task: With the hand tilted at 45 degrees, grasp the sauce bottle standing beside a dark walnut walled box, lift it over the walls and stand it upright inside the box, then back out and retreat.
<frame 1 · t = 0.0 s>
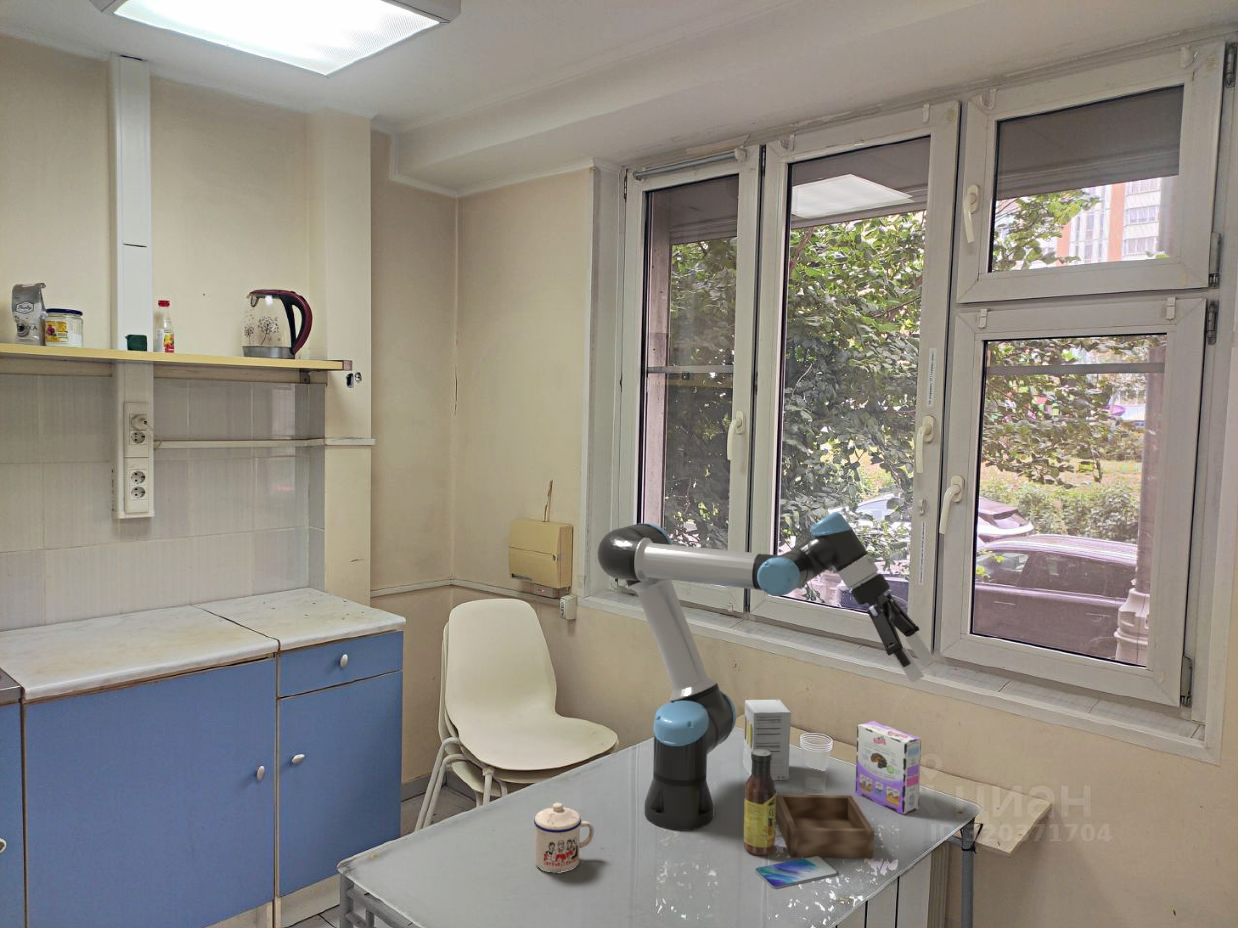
hand: (923, 670, 182), 36 cm above the table, tool tilted 35°, fingers open, 13 cm apart
supplement box: (765, 773, 218), on the table
smartphone: (796, 875, 171), on the table
sauce bottle: (758, 849, 180), on the table
candy box: (886, 801, 203), on the table
walled box: (822, 837, 185), on the table
teacup with lid: (564, 862, 173), on the table
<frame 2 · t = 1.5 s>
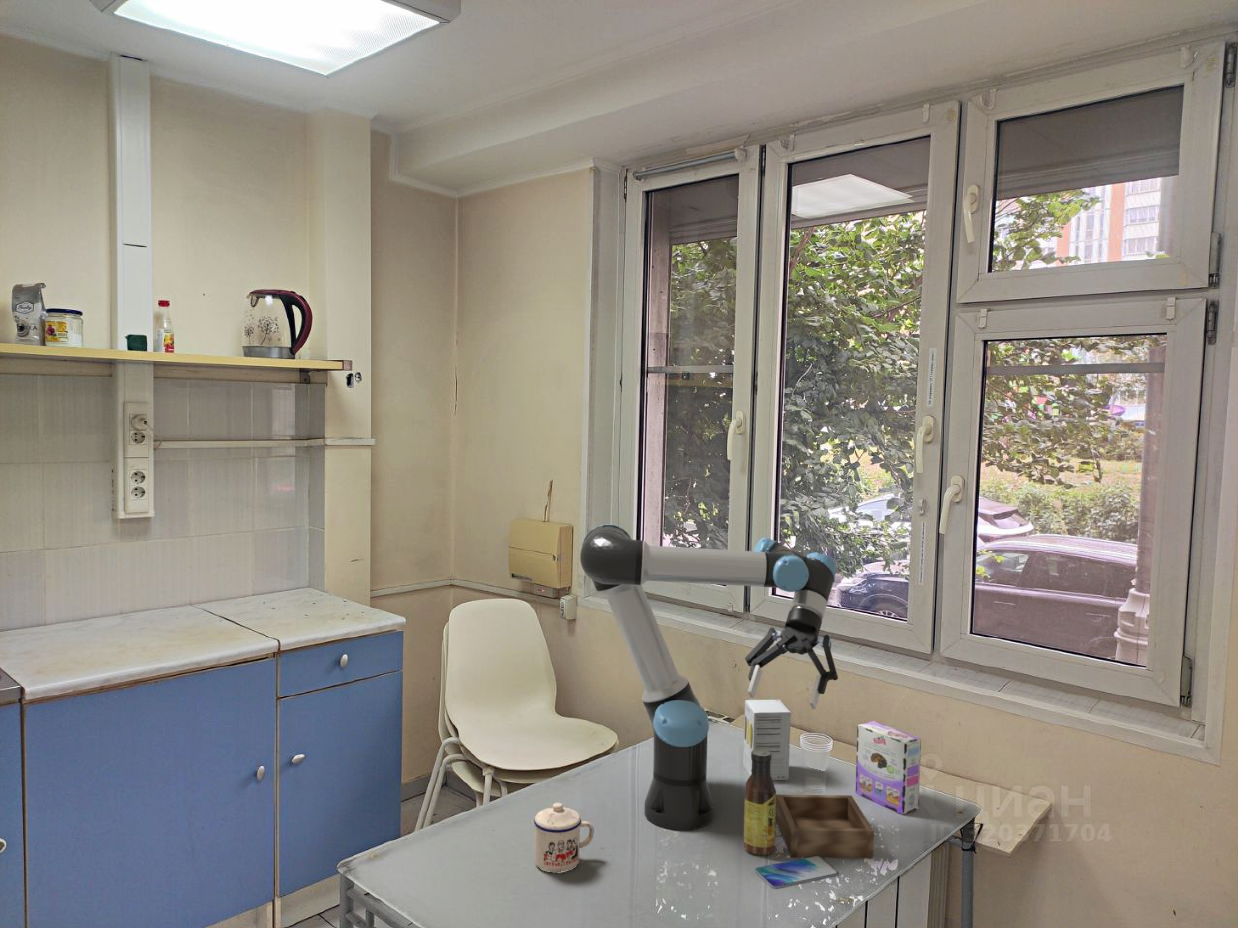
hand: (780, 700, 187), 28 cm above the table, tool tilted 45°, fingers open, 13 cm apart
nothing on the table moved.
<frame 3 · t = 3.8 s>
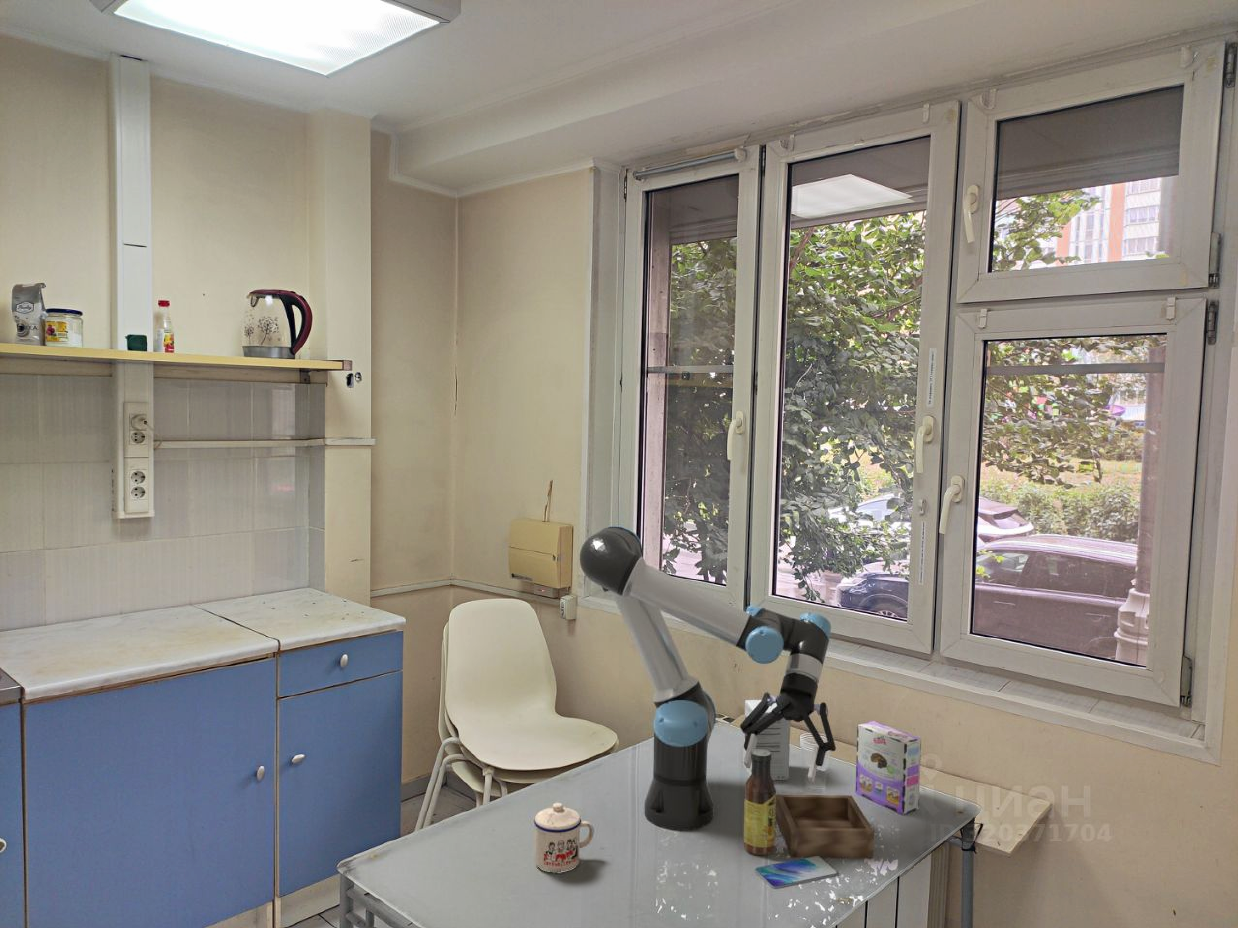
hand: (778, 772, 182), 14 cm above the table, tool tilted 45°, fingers open, 13 cm apart
nothing on the table moved.
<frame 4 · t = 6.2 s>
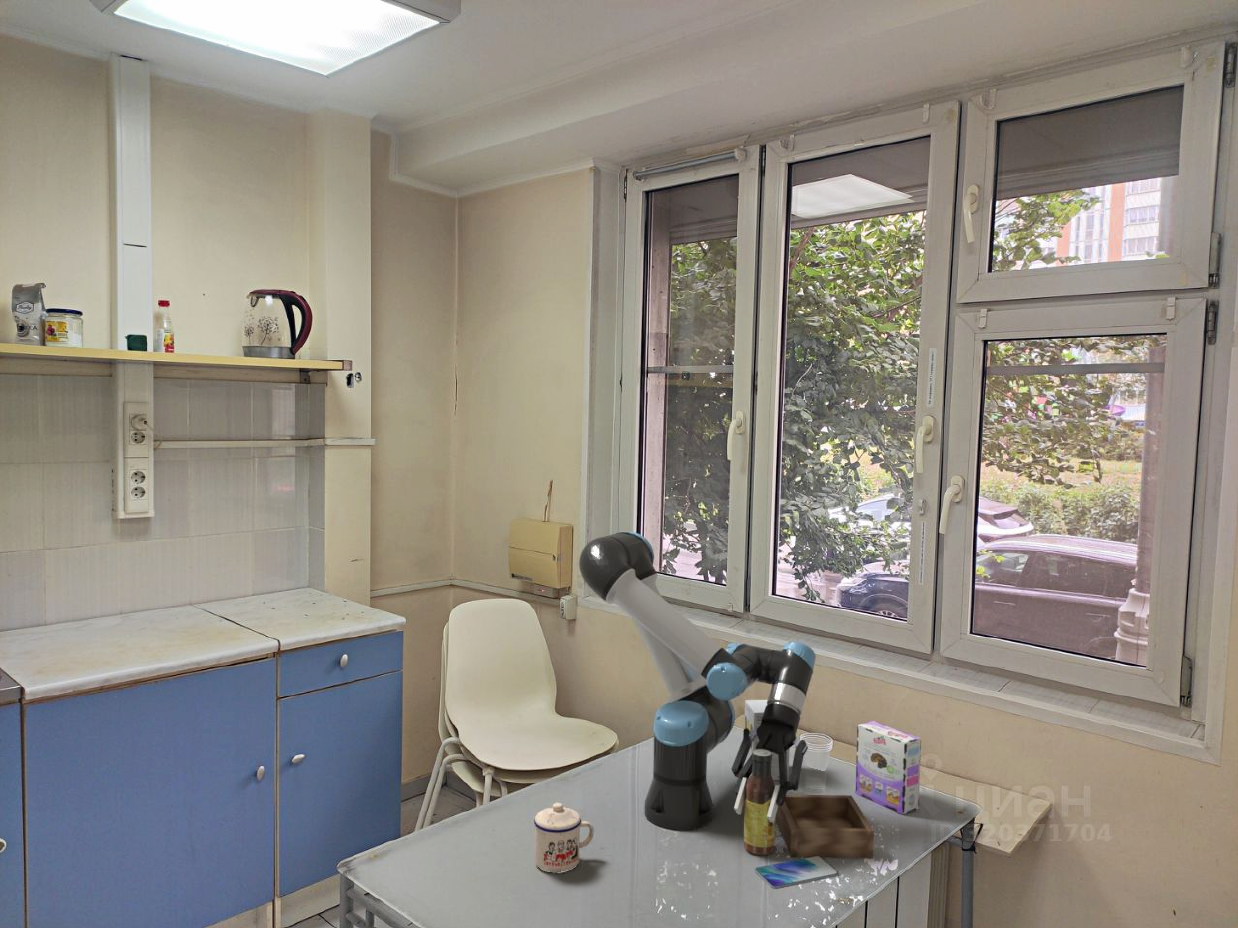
hand: (753, 815, 176), 8 cm above the table, tool tilted 45°, fingers closed on sauce bottle, 6 cm apart
sauce bottle: (758, 849, 180), on the table, touching gripper
everything else where it was.
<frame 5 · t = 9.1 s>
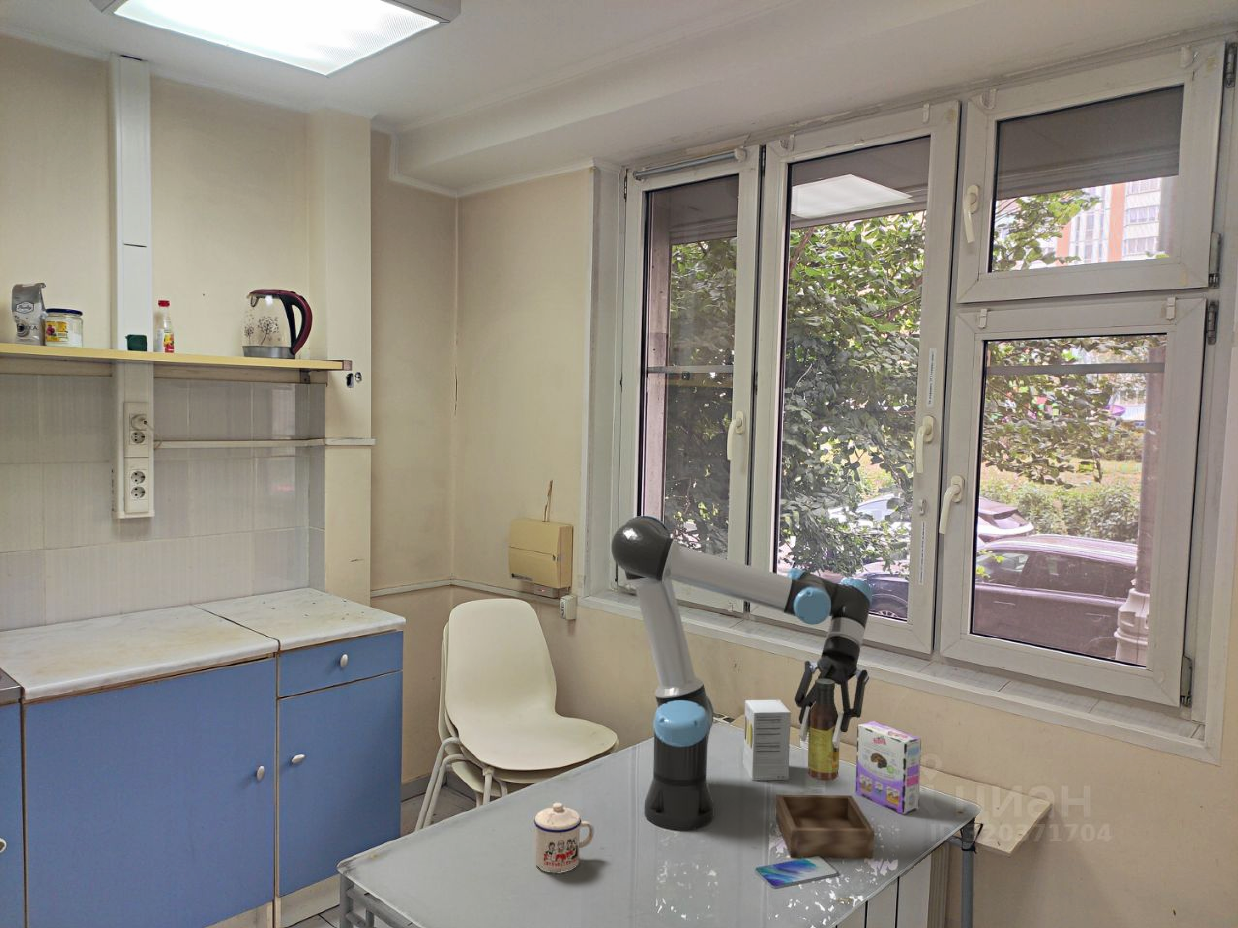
hand: (818, 741, 180), 22 cm above the table, tool tilted 45°, fingers closed on sauce bottle, 6 cm apart
sauce bottle: (822, 776, 184), point 13 cm above the table, touching gripper
everything else where it was.
when the fingers open (11 cm above the table, at t = 12.0 s): sauce bottle drops 1 cm, resting on walled box.
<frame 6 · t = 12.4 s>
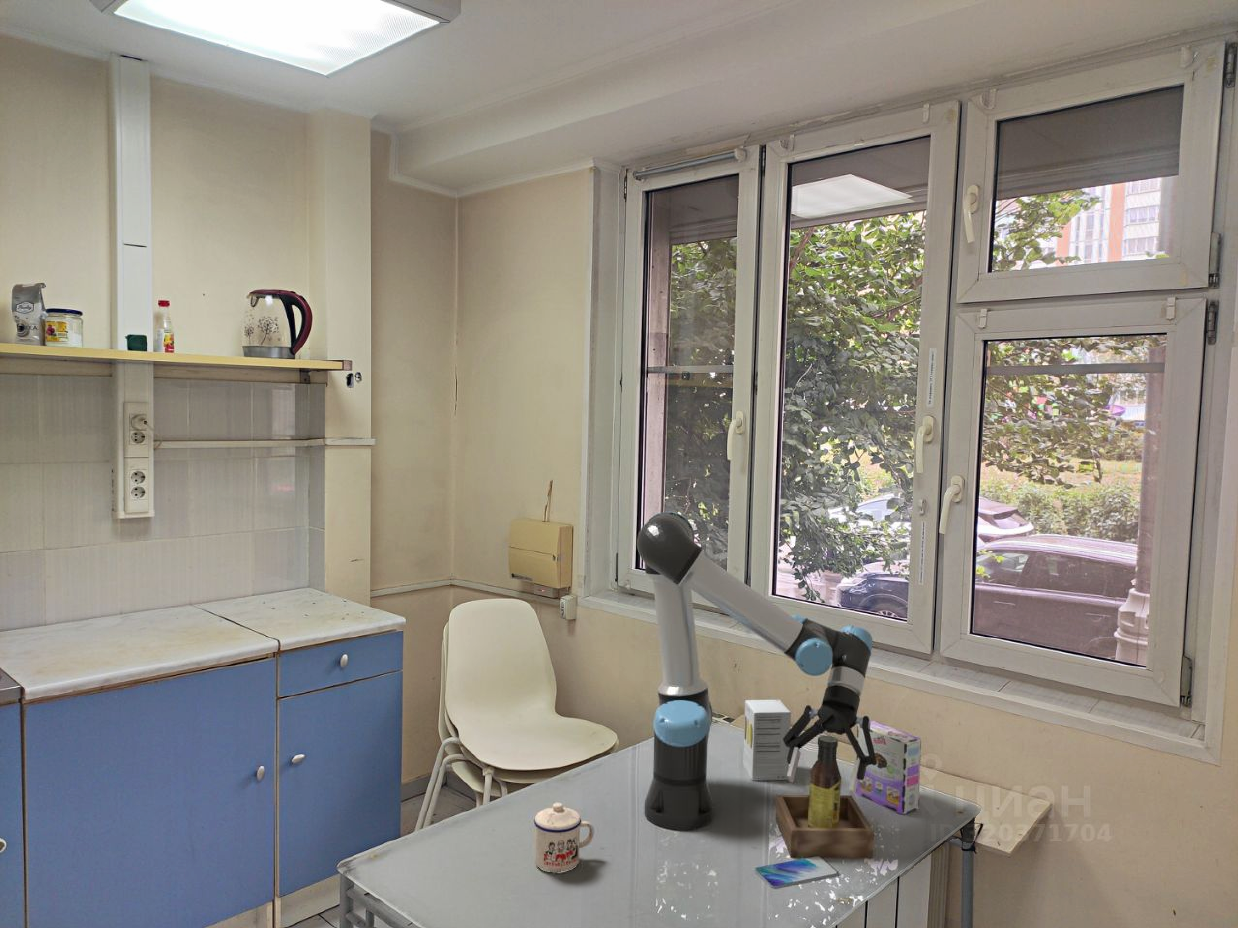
hand: (820, 785, 182), 12 cm above the table, tool tilted 45°, fingers open, 12 cm apart
sauce bottle: (822, 833, 185), point 1 cm above the table, touching walled box
everything else where it was.
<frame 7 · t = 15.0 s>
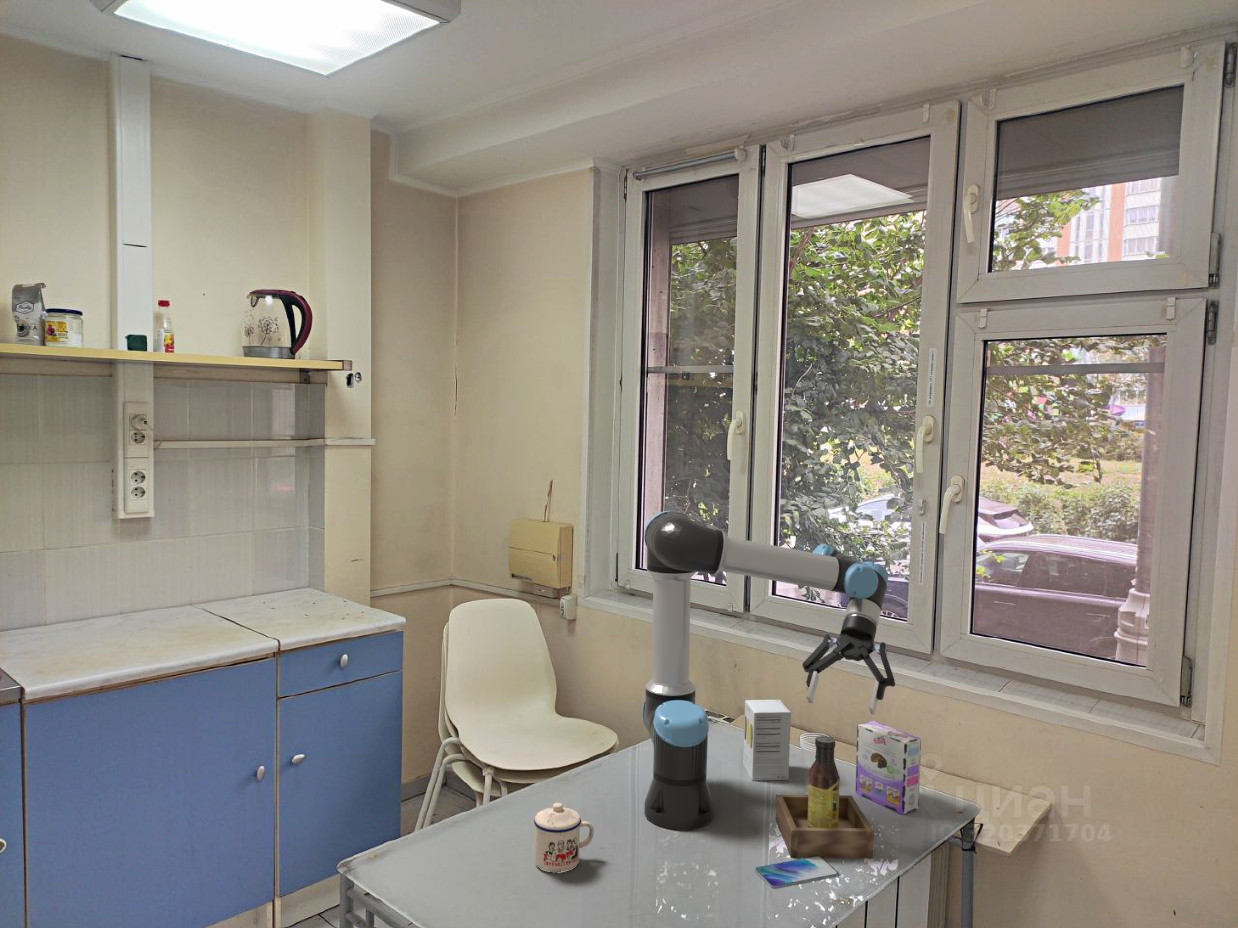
hand: (840, 705, 192), 25 cm above the table, tool tilted 45°, fingers open, 13 cm apart
nothing on the table moved.
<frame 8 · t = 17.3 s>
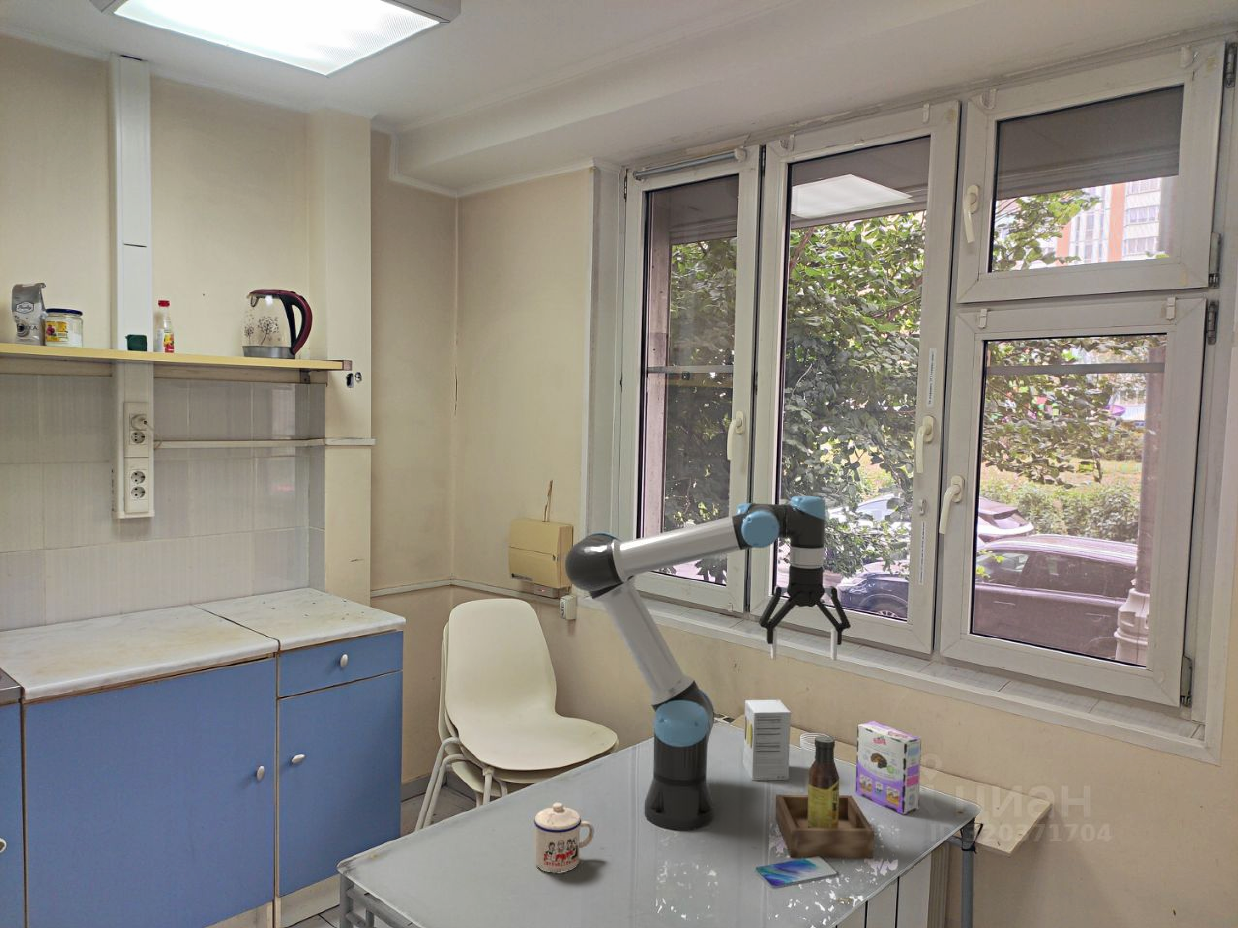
hand: (803, 658, 201), 33 cm above the table, tool pointing down, fingers open, 13 cm apart
nothing on the table moved.
at the end: sauce bottle inside the target area on the walled box (0.0 cm from its centre), point 0.8 cm above the walled box's base; sauce bottle tilted 0°; the gripper is holding nothing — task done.
